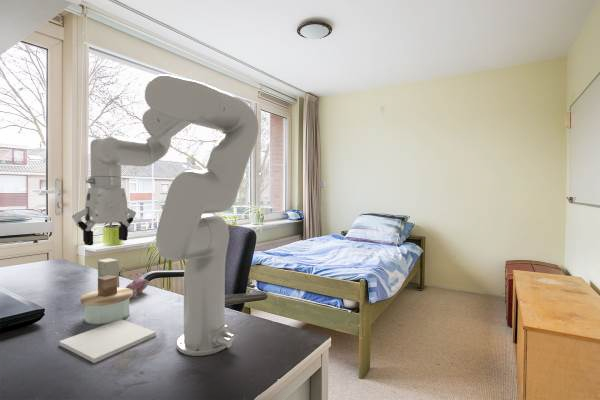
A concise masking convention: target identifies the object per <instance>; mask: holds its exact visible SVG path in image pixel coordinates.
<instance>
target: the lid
mask: <svg viewBox="0 0 600 400" xmlns="http://www.w3.org/2000/svg"><path fill="white" fill-rule="evenodd" d="M132 296H133V291H132V289H129V288H126V287H121V286H119V287H117V277H116V276H112V275H108V276H104V277H99V278H98V277H97V290H92V291H89V292H87V293H84V294H83V295H81V296H80V304H81V305H82V306H83V305H84V306H85V305H87V306H103V305H110V304H115V303H119V302H122V301H125V300H127V299H129V300H130V299H131V297H132ZM132 298H133V297H132Z"/></svg>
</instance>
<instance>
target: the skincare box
mask: <svg viewBox="0 0 600 400" xmlns="http://www.w3.org/2000/svg"><path fill="white" fill-rule="evenodd" d="M96 261H97V279H98V278H99V277H104V276H108V275H112V276H116V277H117V287H120V271H119V269H120V268H119V267H120V266H119V259H117V258H116V259H115V258H111V257H109V258H108V257H107V258H104V259H98V260H96Z"/></svg>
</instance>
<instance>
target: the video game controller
mask: <svg viewBox="0 0 600 400" xmlns="http://www.w3.org/2000/svg"><path fill="white" fill-rule="evenodd" d="M149 284H150V281H149V280H148V279H146V278H143V277H142V278H137V279H134V280H133V281H131V282H129V284H126V285H127V286H125V288H129V289H132V291H133V296H132V297H131V298H135V296H136V295H138V296H139V295H140V294H142V292H143V291H144V290H146V288H147V287H148V286H149ZM131 298H130V299H131Z"/></svg>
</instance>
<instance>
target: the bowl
mask: <svg viewBox="0 0 600 400" xmlns="http://www.w3.org/2000/svg"><path fill="white" fill-rule="evenodd" d="M129 315H130V298H129V299H127V300H125V301H122V302H119V303H115V304H110V305H103V306H87V305H84V321H85V323H86V324H90V325H106V324H109V323H112V322H115V321H117V320H120V319H122V320H124V319H125V318H126V317H128V316H129Z"/></svg>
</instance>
